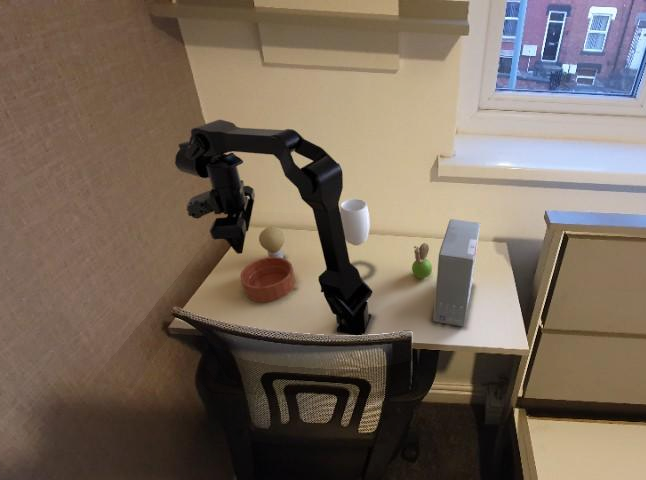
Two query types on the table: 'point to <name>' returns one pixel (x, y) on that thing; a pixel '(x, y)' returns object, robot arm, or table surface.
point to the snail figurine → (421, 262)
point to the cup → (355, 221)
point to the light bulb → (272, 241)
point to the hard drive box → (456, 272)
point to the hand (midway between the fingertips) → (242, 241)
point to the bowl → (268, 279)
